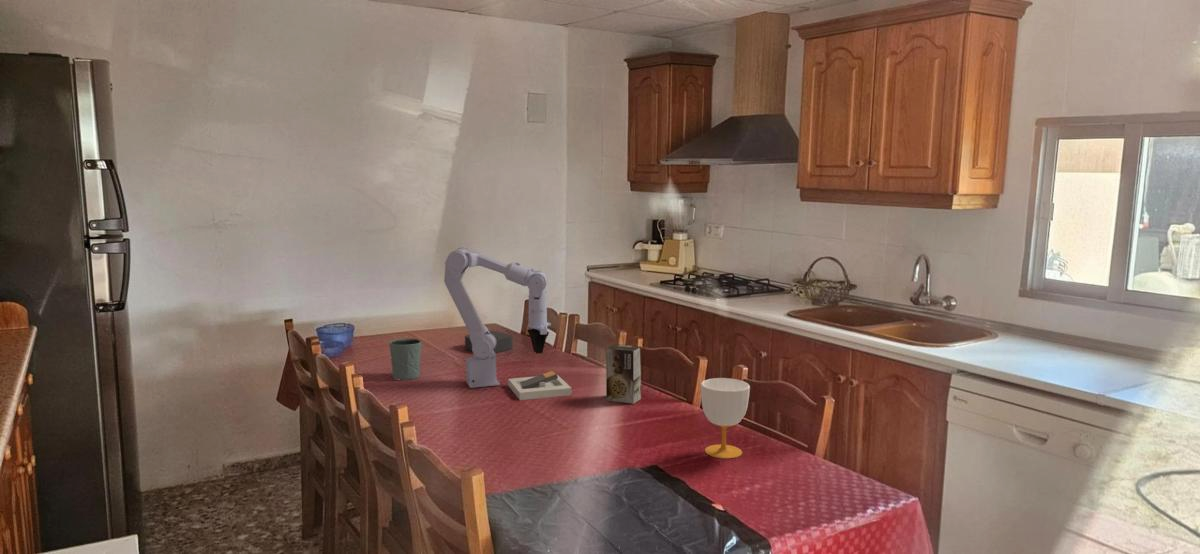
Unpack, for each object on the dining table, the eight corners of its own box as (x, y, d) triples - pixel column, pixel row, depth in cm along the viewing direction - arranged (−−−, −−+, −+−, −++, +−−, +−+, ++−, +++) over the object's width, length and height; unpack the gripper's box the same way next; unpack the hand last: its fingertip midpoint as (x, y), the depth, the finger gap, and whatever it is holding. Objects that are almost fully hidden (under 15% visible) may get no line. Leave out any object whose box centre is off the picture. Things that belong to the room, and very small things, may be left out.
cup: (736, 464, 183) (738, 394, 181) (691, 454, 189) (692, 386, 187) (755, 449, 193) (757, 382, 191) (711, 440, 199) (712, 375, 197)
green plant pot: (384, 379, 255) (383, 343, 253) (403, 371, 264) (402, 336, 263) (410, 382, 251) (409, 346, 250) (428, 374, 261) (427, 339, 259)
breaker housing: (520, 400, 233) (519, 388, 232) (508, 385, 248) (508, 375, 247) (571, 395, 238) (571, 384, 237) (557, 381, 253) (557, 370, 252)
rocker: (524, 390, 238) (523, 386, 238) (520, 385, 243) (519, 381, 243) (558, 378, 241) (556, 374, 241) (553, 374, 246) (552, 370, 246)
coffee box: (641, 398, 235) (642, 346, 232) (633, 404, 229) (634, 350, 227) (614, 394, 238) (614, 343, 236) (605, 400, 233) (605, 347, 230)
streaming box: (462, 349, 297) (461, 336, 297) (492, 343, 307) (492, 330, 307) (485, 355, 287) (485, 342, 287) (515, 349, 297) (515, 336, 297)
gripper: (556, 313, 241) (556, 356, 243) (544, 305, 254) (544, 346, 256) (534, 314, 238) (534, 358, 240) (522, 306, 252) (523, 347, 254)
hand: (538, 352), depth 248 cm, fingers closed
